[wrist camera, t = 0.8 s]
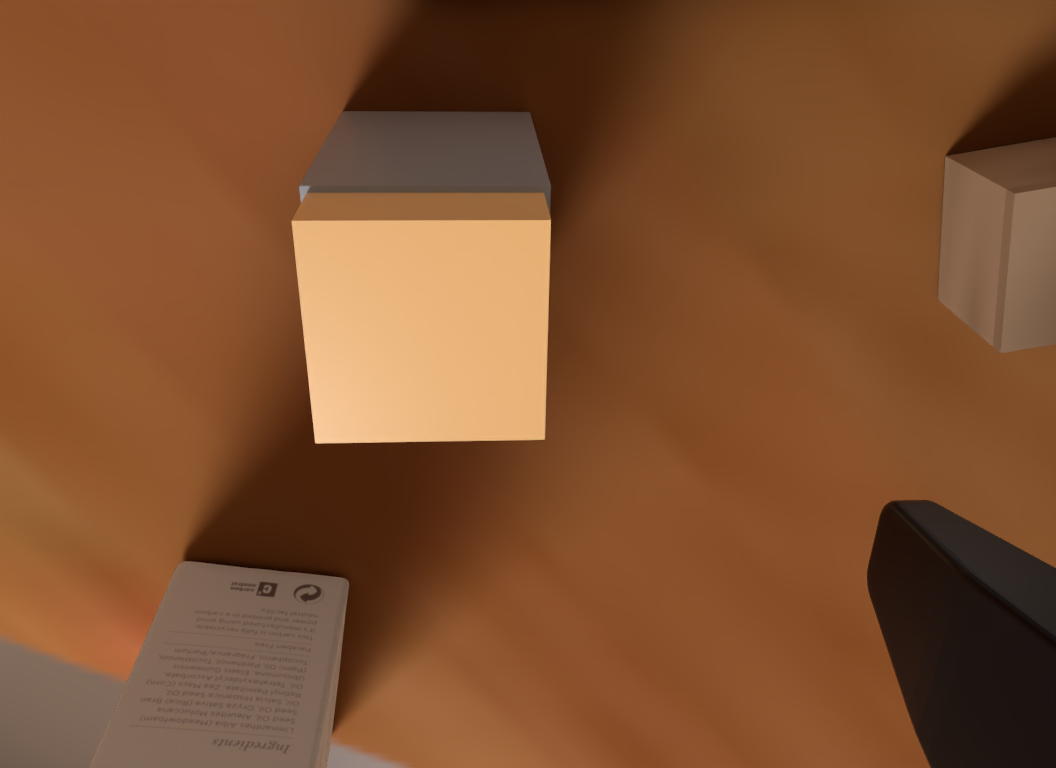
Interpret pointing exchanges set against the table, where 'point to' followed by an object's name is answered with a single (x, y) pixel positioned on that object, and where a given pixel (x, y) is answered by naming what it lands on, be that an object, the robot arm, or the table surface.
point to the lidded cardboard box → (426, 278)
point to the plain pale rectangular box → (1001, 243)
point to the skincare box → (233, 673)
